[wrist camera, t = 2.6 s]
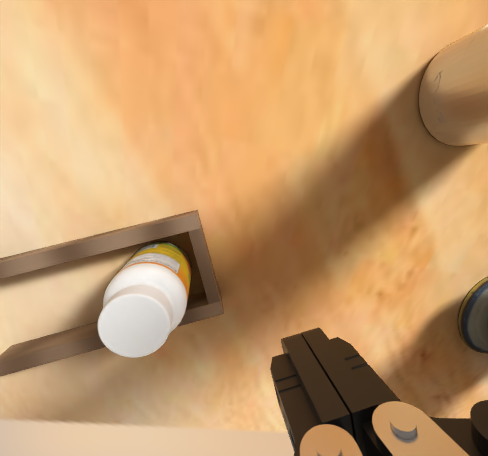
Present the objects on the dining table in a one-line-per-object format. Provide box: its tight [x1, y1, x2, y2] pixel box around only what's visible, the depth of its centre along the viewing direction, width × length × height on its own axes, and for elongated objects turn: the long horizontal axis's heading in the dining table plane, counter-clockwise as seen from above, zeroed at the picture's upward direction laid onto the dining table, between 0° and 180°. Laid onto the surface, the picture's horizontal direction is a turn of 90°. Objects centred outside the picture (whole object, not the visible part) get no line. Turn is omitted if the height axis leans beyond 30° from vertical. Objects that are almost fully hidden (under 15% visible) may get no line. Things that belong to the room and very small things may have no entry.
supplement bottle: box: [98, 242, 192, 358], centre depth 20 cm, size 5×5×10 cm
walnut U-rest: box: [0, 210, 224, 376], centre depth 23 cm, size 19×9×3 cm, turn 104°
